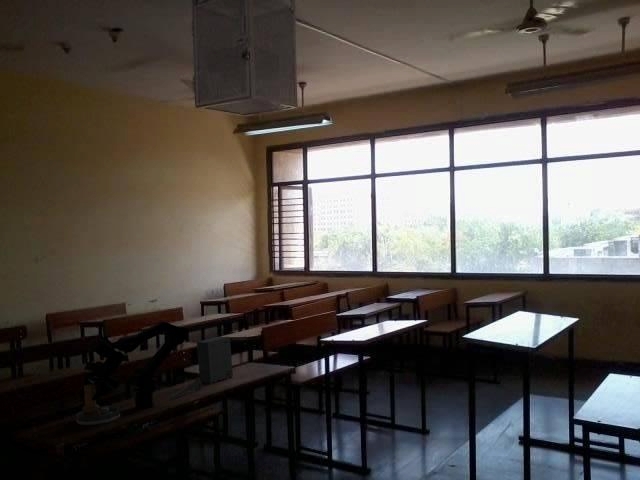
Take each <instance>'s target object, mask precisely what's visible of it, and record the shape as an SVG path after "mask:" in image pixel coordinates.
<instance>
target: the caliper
mask: <svg viewBox="0 0 640 480" xmlns="http://www.w3.org/2000/svg"><path fill="white" fill-rule="evenodd" d="M194 389H195V390H196V391H197V392H198V391H200V390H202V383H201V380H200V376H196V377H195V379H194V381H192V382H190V383H189V384H188V385H187V386H185V387H184V388H182V389H181V390H179V391H177V392H175V393H174V394H172V395H171V396H170V397H169V398H168V400H167V401H174V400H175V399H177V398H178V397H181V395H183V394H185V393H186V392H188V391H193V390H194Z"/></svg>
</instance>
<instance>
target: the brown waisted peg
mask: <svg viewBox="0 0 640 480" xmlns="http://www.w3.org/2000/svg"><path fill="white" fill-rule="evenodd" d="M83 386H84V385H83ZM95 386H96V385H95V384H89V385H85V386H84V395H85V396H84V406H83V407H82V411H83V412H84V413H86V415H93V414H97V411H98V410H99V407H100V405H99V404H97V400H95V401H93V400H92V398H93V396H94V394H95V393H96V387H95Z"/></svg>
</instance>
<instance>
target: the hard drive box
mask: <svg viewBox="0 0 640 480" xmlns="http://www.w3.org/2000/svg"><path fill="white" fill-rule="evenodd" d="M196 350H197V361H198V373H199V375H198V377H199V379H200V380H201V384H206V383H207V384H208V385H211V384H214V383H213V382H215V383H217V382H216V381H218V380H221V381H223V380H222V379H225V378H228V379H230V378H229V377H231V378H233V377H234V373H233V358H232V349H231V337H230V336H216V337H213V338H208V339H204V340H200V341H199V340H198V341H196ZM232 376H233V377H232ZM225 380H226V379H225ZM218 382H219V381H218Z"/></svg>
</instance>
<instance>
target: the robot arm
mask: <svg viewBox="0 0 640 480" xmlns="http://www.w3.org/2000/svg"><path fill="white" fill-rule="evenodd" d="M162 333H163V334H166V338H165V339H166V340H165V341H164V342H163V344H162V345H161V346H160V348H159V349H158V350H157V351H156V352H155V354H154V355H152V357H151V359H150V360H149V361H148V362H147V364H146V365H145V366H143V367H142V368H141V367H137V368H135V370H134V372H133V373H132V374H131V375H130V378H129V385H130V387H131V388H133V389H132V390H133V391H134V392H136V393H135V394H136V395H135V396H134V401H135V402H134V403H135V409H149V408H153V407H154V405H155V403H156V402H154V392H156V387H157V386H156V385H155V384H154V383H153V382H152V381H153V379H154V374H155V373H156V371H157V370H158V369H159V367H161V365H162V364H163V363H164V362H165V360H166V359H167V358H168V357H169V356H170V354H171V353H172V351H173V350H174V349H175V348H176V347H177V346H180V345H181V344H183V343H184V342H185V341H186V340H187V339H188V338H189V335H190V334H189V330H188V328H186V327H185V326H177V325H174V324H172V323H170V322H167V321H159V322H158V323H156V324H154V325H151V326H150V327H148V328H146V329H144V330H141V331H140V332H138V333H135V334H131V335H126V336H122V337H120V338H118V339H117V340H116V341H114V342H112V341H110V340H109V339H108V337H106V336H104V335H103V336H101V337H100V338H99V339H97V340H96V341H94V342H93V344H92V346H91V350H92V351H93V352H95V353H96V354H97V355H98V356H99V357H101V358H102V359H105V358H106V359H105V360H104V362H103V361H98V360H97V361H96V362H92V361H86V362H85V366H84V370H85V371H84V372H83V373H82V375H81V377H82V381H83V386H82V389H81V392H80V394H79V398H80V399H83V398H85V395H84V386H85V385H89V384H95V388H96V387H97V385H98V388H97V389H96V390H95V394H94V396H93V398H92V400H93V401H95V400H96V401H97V400H98V399H100V398H101V397H103V396H105V395H106V394H109V393H110V392H111V391H112V392H113V391H114V390H117V388H118V387H119V381H118V380H117V379H115V378H114V377H113V376H114V374H117V373H118V368H119V367H120V366H121V364H122V363H123V362H125V363H126V362H127V363H129V362H130V359H129V355H128V354H124V353H132V352H133V351H135V350H137V349H138V348H139V347H140V345H141V344H143V343H145V342H146V341H147V342H148V340H151V339H153V338H155V337H157V336H159V335H161V334H162ZM117 350H118V351H117Z"/></svg>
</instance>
